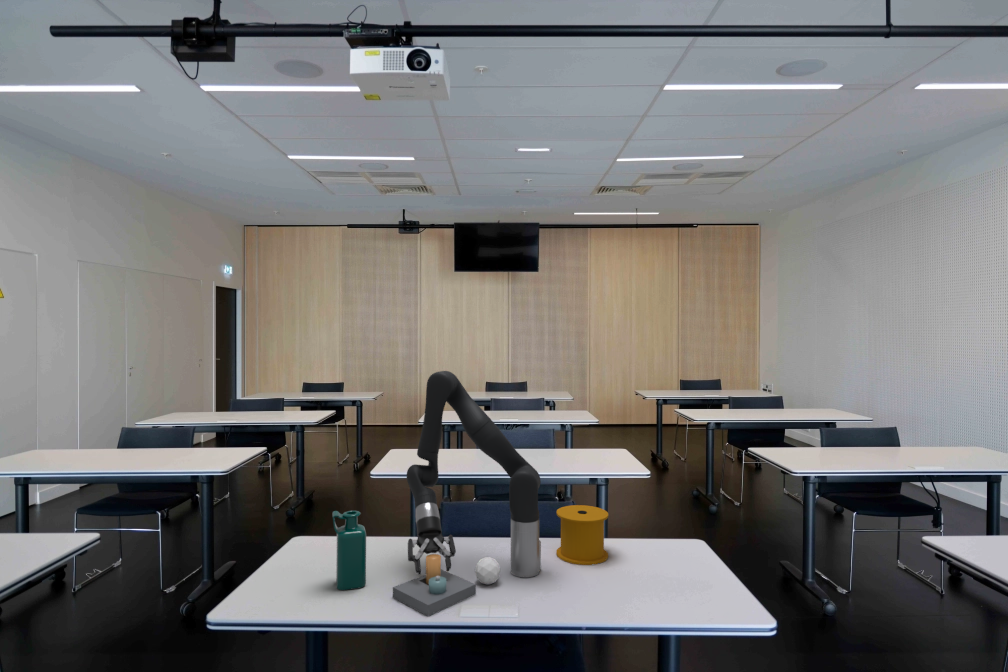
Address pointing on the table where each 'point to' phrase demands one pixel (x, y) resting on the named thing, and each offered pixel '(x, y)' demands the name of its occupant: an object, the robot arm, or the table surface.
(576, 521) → the spool
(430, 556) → the orange capsule
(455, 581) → the block
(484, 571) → the ball
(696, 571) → the table surface
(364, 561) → the pitcher
